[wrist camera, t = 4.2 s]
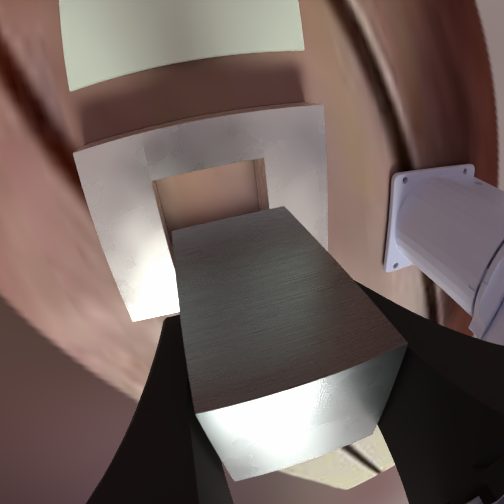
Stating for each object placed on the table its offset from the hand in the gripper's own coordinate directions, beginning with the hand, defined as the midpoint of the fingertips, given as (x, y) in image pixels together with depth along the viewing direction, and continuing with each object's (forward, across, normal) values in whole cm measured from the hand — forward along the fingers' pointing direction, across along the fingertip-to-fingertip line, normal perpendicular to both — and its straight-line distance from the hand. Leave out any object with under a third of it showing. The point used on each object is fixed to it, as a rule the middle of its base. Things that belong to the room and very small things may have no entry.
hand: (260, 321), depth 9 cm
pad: (+10, 0, -13) cm, 16 cm away
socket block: (+10, 0, 0) cm, 10 cm away
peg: (+3, 0, 0) cm, 3 cm away
